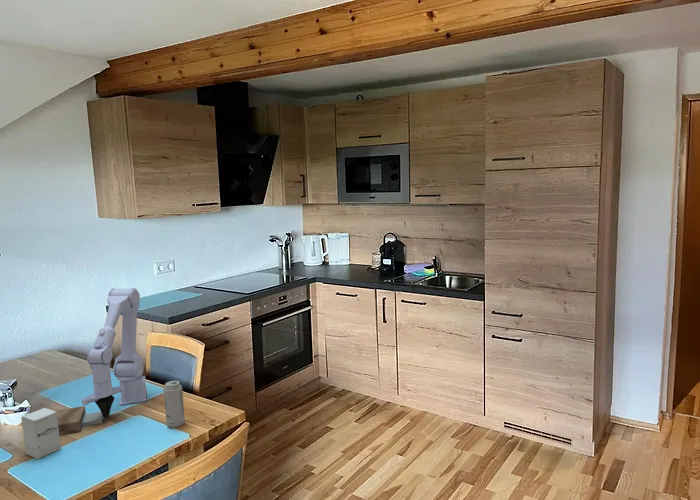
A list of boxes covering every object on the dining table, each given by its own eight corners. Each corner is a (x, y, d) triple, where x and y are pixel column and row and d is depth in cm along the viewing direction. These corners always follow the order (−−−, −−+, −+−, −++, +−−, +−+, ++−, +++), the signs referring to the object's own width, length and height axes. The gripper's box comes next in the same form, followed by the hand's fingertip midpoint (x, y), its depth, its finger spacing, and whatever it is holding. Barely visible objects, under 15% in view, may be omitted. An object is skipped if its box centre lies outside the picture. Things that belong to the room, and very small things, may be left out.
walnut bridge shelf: (85, 415, 188) (84, 405, 188) (80, 431, 175) (78, 421, 175) (61, 419, 185) (60, 409, 185) (53, 436, 173) (52, 426, 172)
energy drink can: (166, 422, 179) (162, 381, 178) (184, 419, 182) (180, 378, 180) (167, 430, 174) (163, 387, 172) (185, 426, 176) (182, 384, 174)
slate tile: (104, 415, 188) (103, 410, 188) (102, 424, 181) (101, 419, 181) (67, 421, 184) (67, 417, 184) (63, 430, 177) (63, 426, 177)
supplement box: (37, 459, 158) (32, 420, 156) (25, 454, 162) (20, 415, 160) (61, 449, 164) (57, 411, 162) (49, 443, 168) (44, 406, 166)
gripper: (115, 372, 190) (119, 407, 192) (76, 385, 179) (80, 422, 181) (126, 375, 186) (129, 411, 188) (85, 389, 175) (90, 427, 176)
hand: (106, 417), depth 184 cm, fingers closed
